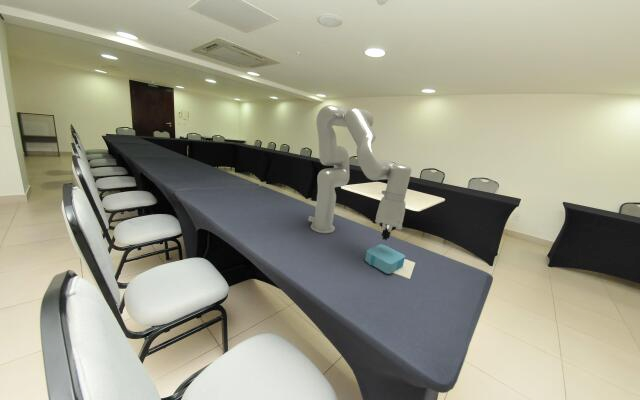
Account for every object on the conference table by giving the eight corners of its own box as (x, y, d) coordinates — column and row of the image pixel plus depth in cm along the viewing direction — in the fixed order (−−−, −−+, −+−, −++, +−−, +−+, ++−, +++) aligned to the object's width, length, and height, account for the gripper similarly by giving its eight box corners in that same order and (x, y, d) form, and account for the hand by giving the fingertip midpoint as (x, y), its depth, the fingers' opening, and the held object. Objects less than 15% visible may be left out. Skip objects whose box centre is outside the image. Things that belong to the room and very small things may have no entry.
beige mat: (368, 264, 96) (369, 263, 96) (378, 250, 108) (378, 249, 108) (409, 279, 89) (409, 278, 89) (415, 263, 101) (415, 262, 101)
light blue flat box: (363, 260, 97) (388, 275, 89) (365, 250, 96) (390, 264, 88) (379, 252, 105) (404, 265, 97) (381, 243, 104) (406, 255, 96)
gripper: (373, 193, 92) (364, 236, 98) (413, 203, 86) (401, 248, 91) (378, 190, 99) (370, 230, 104) (416, 199, 92) (405, 241, 98)
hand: (385, 238), depth 98 cm, fingers closed
